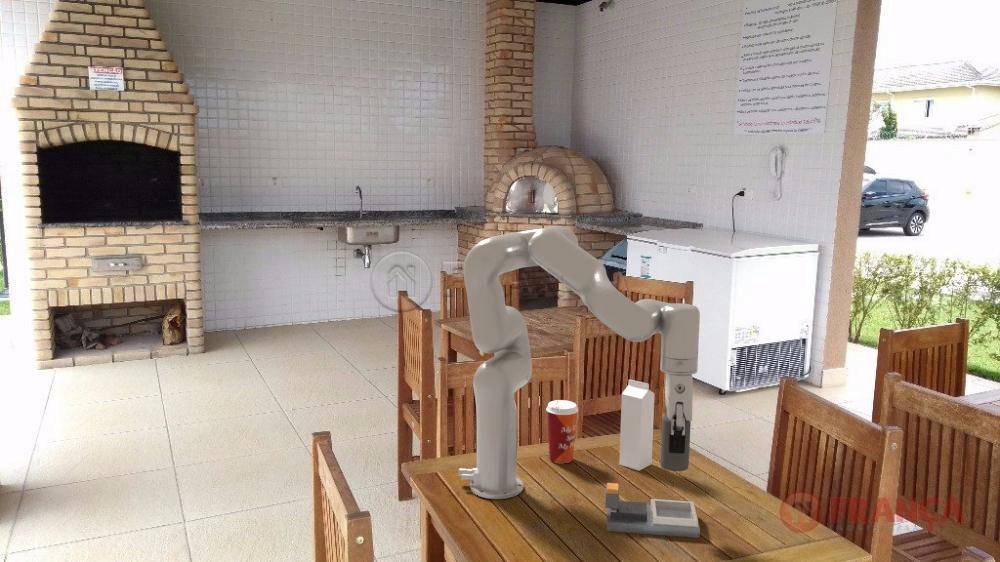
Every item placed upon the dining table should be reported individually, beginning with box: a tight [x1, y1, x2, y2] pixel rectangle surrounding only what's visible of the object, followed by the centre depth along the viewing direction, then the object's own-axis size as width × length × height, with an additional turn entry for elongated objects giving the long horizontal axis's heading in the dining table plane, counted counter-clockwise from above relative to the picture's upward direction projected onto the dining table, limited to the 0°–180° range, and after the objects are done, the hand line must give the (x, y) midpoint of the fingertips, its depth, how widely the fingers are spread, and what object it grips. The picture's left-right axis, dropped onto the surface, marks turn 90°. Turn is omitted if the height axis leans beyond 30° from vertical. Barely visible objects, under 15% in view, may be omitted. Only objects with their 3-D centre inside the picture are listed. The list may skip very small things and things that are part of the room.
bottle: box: [659, 404, 692, 472], centre depth 161 cm, size 6×6×15 cm
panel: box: [606, 498, 701, 539], centre depth 165 cm, size 19×10×4 cm, turn 82°
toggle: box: [605, 482, 620, 509], centre depth 166 cm, size 3×4×4 cm
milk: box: [619, 378, 655, 471], centre depth 195 cm, size 6×6×22 cm
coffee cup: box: [545, 399, 579, 463], centre depth 198 cm, size 8×8×15 cm
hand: (675, 446), depth 162 cm, fingers closed on bottle, 5 cm apart
